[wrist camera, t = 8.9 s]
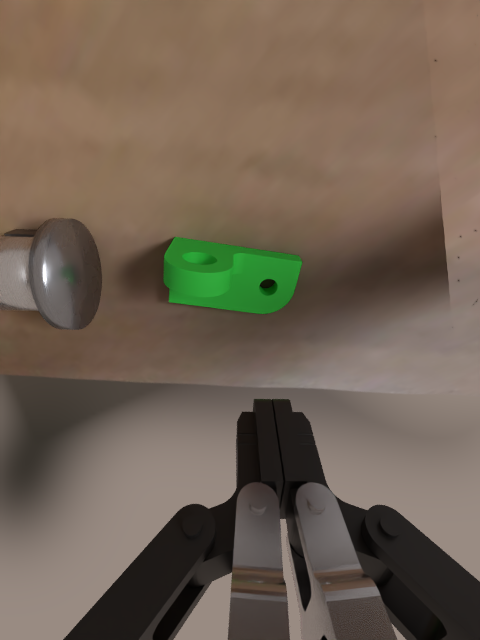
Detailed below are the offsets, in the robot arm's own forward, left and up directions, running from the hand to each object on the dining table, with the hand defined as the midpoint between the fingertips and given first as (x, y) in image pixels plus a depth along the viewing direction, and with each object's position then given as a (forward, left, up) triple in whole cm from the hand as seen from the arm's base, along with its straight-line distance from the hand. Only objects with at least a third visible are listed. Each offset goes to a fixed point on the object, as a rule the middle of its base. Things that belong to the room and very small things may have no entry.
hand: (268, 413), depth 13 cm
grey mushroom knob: (+18, 0, -19) cm, 26 cm away
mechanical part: (+1, +1, -20) cm, 20 cm away
